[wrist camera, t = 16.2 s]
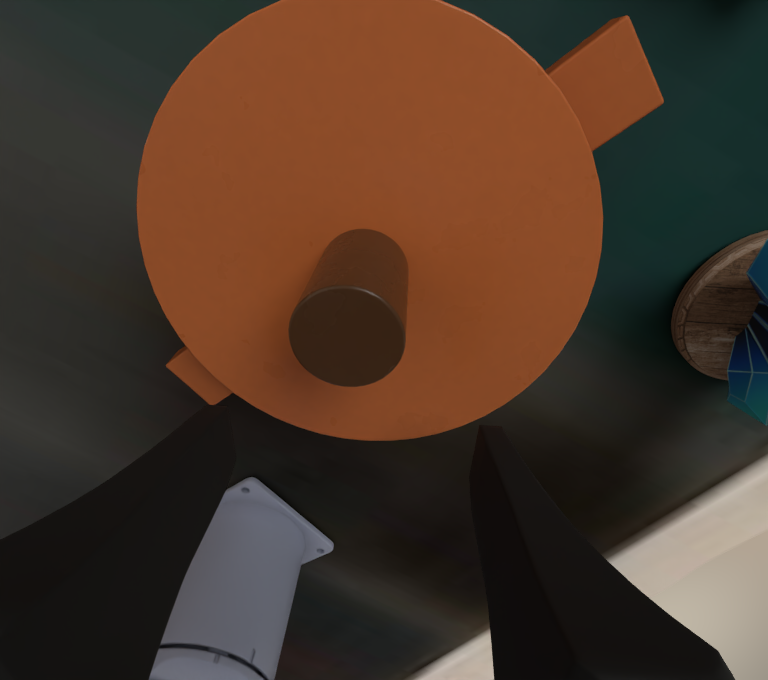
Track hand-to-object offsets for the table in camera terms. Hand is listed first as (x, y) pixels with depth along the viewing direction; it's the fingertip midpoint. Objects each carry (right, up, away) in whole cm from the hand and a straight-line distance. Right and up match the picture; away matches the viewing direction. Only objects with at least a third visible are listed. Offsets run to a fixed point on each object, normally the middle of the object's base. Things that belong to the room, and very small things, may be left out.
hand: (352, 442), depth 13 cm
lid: (0, +5, +1) cm, 5 cm away
